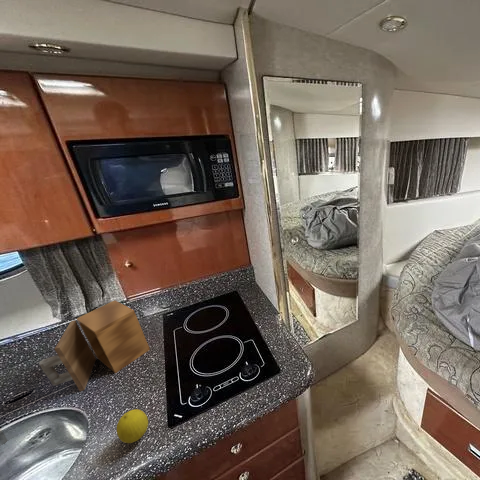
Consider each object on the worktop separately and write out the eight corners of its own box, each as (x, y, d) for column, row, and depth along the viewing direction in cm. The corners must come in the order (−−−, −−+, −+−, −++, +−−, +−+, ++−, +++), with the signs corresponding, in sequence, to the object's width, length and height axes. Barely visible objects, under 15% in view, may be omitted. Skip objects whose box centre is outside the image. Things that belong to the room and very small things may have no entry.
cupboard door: (56, 400, 67) (27, 357, 61) (72, 367, 77) (48, 327, 71) (84, 389, 69) (59, 347, 63) (96, 359, 79) (75, 319, 73)
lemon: (150, 419, 61) (139, 397, 58) (154, 437, 57) (143, 414, 54) (122, 436, 58) (109, 414, 55) (125, 457, 54) (112, 434, 51)
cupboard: (115, 373, 74) (94, 331, 68) (97, 358, 80) (76, 318, 74) (150, 349, 82) (134, 310, 76) (131, 337, 88) (114, 300, 81)
